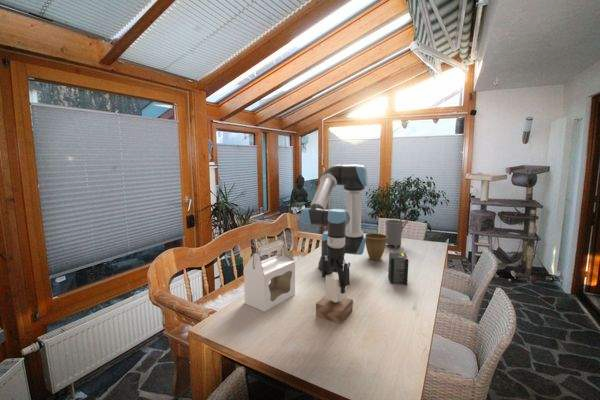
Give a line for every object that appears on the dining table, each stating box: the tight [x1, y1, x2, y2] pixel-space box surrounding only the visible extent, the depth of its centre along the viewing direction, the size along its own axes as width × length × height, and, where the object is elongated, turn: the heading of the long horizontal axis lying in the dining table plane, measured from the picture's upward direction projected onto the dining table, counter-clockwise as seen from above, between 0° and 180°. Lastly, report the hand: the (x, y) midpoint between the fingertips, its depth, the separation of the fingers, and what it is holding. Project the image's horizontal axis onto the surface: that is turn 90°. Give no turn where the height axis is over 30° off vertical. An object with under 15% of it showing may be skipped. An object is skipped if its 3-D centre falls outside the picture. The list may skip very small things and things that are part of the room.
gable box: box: [243, 239, 296, 313], centre depth 138 cm, size 22×13×28 cm, turn 142°
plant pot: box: [364, 233, 387, 261], centre depth 196 cm, size 15×15×16 cm
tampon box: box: [387, 251, 409, 286], centre depth 161 cm, size 11×9×15 cm
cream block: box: [324, 272, 346, 302], centre depth 125 cm, size 6×6×10 cm
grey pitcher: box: [385, 215, 410, 250], centre depth 223 cm, size 19×15×25 cm
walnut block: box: [315, 295, 354, 325], centre depth 126 cm, size 12×12×6 cm
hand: (334, 296), depth 126 cm, fingers closed on cream block, 6 cm apart
